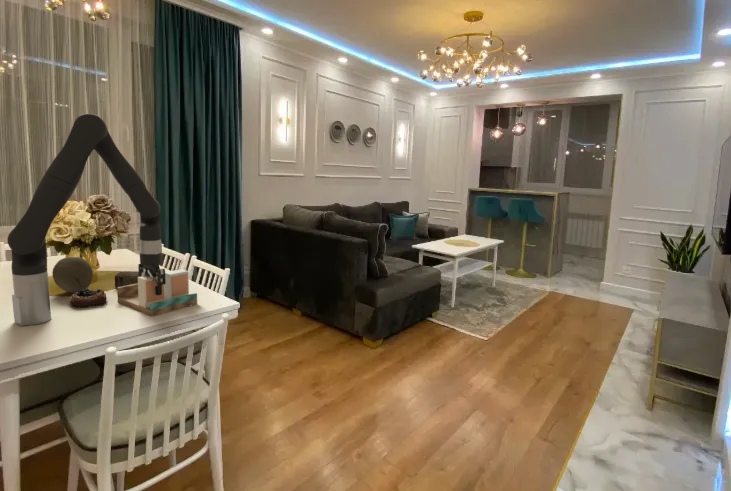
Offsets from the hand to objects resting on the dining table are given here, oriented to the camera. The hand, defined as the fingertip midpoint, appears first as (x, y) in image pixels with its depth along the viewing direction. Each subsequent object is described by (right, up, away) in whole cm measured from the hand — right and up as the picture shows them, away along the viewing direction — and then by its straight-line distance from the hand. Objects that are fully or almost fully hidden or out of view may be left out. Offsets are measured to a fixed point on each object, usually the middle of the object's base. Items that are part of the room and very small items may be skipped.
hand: (152, 292), depth 158 cm
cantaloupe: (-40, -2, +14) cm, 43 cm away
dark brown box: (-20, -1, +28) cm, 34 cm away
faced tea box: (+5, -3, +9) cm, 11 cm away
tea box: (0, -5, +1) cm, 5 cm away
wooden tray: (-2, -5, +8) cm, 10 cm away
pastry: (-27, -5, +3) cm, 27 cm away
